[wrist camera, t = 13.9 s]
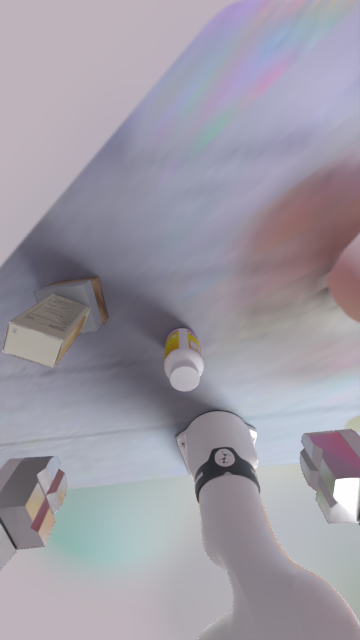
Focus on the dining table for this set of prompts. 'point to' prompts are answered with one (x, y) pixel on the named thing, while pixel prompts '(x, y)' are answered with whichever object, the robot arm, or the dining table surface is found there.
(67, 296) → the tower top
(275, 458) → the dining table surface
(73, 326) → the skincare box
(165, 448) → the dining table surface
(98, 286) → the tower base
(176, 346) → the supplement bottle
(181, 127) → the dining table surface
